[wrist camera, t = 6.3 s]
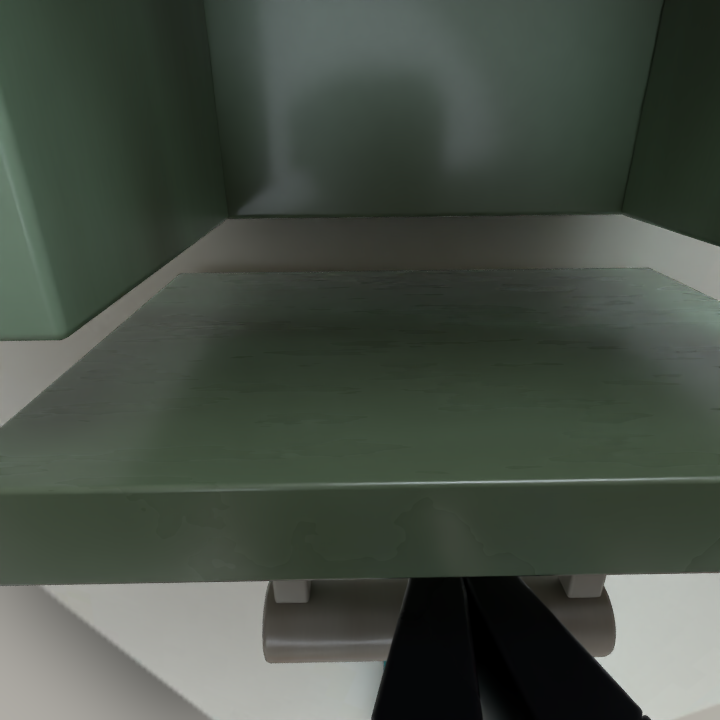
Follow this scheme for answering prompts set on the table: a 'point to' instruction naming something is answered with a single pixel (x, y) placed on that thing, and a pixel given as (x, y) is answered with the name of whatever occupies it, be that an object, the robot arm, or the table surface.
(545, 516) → the green drawer
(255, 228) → the table surface
